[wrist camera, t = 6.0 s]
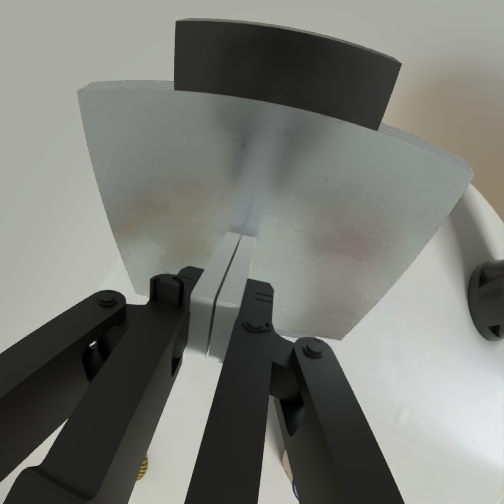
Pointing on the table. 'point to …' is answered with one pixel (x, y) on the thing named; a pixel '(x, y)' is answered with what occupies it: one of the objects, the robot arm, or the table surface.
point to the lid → (270, 168)
